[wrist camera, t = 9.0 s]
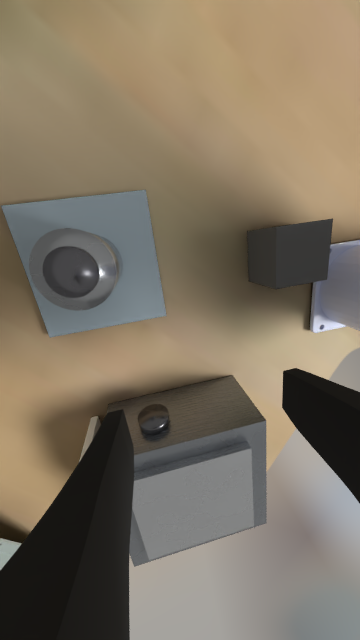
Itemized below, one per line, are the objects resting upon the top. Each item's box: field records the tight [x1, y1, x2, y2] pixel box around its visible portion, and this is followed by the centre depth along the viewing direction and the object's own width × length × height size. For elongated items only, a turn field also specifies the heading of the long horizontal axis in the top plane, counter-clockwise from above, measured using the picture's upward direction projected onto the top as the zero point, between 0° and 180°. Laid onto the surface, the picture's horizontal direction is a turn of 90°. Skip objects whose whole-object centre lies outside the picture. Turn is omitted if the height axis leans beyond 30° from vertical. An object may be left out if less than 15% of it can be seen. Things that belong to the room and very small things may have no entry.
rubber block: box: [247, 219, 333, 289], centre depth 16 cm, size 4×4×4 cm
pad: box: [1, 190, 166, 337], centre depth 16 cm, size 9×9×1 cm
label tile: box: [79, 416, 101, 462], centre depth 19 cm, size 1×6×5 cm, turn 8°
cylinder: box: [29, 228, 123, 311], centre depth 13 cm, size 4×4×6 cm
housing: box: [107, 375, 266, 566], centre depth 19 cm, size 12×13×7 cm
